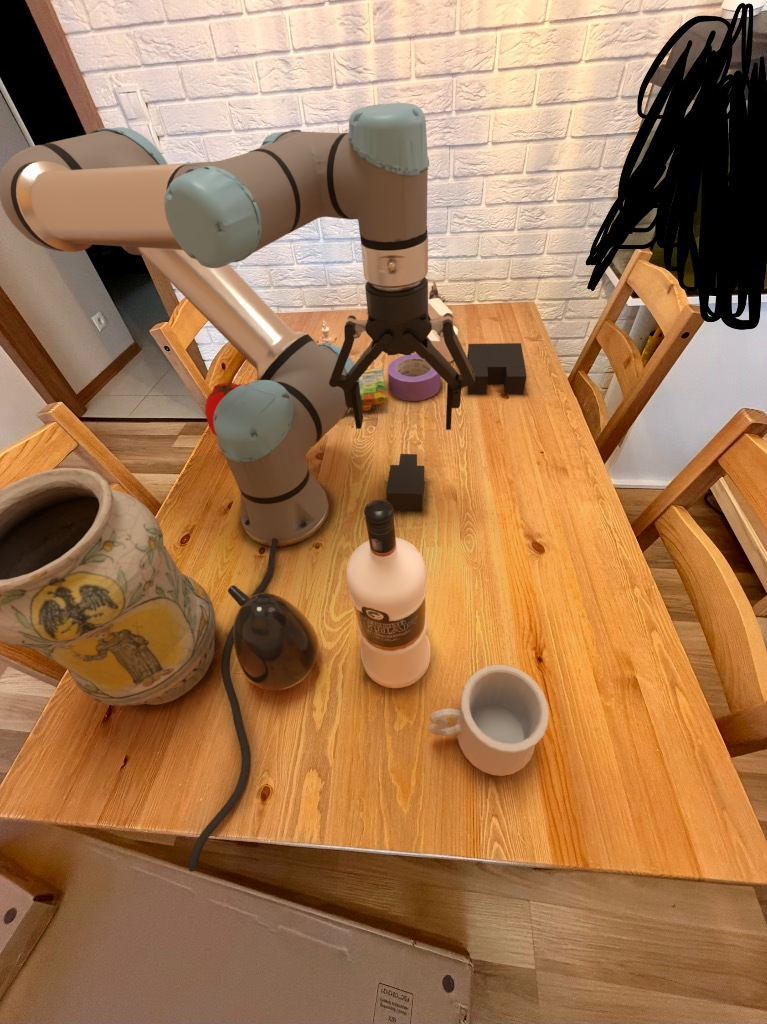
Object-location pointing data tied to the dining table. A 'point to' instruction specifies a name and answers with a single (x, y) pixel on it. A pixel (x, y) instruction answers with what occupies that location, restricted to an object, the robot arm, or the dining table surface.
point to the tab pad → (406, 484)
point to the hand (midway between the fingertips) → (403, 424)
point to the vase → (99, 590)
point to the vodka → (389, 601)
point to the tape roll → (412, 378)
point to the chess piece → (326, 332)
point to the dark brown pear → (272, 640)
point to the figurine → (435, 293)
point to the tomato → (217, 400)
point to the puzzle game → (372, 388)
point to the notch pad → (497, 367)
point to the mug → (497, 719)
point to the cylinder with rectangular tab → (435, 311)
